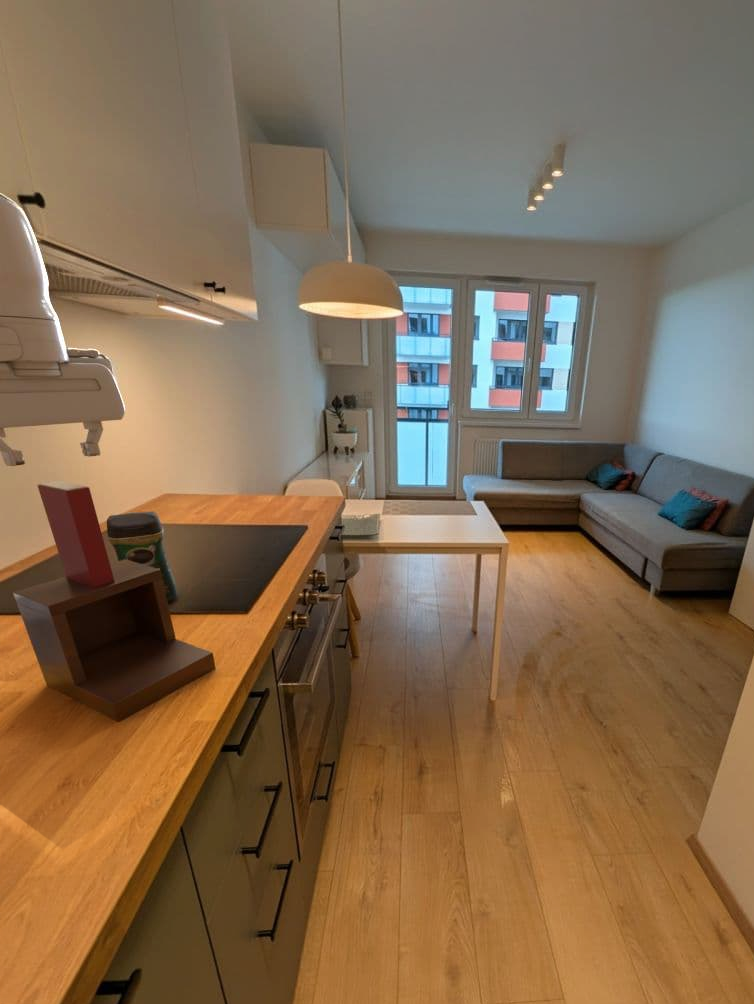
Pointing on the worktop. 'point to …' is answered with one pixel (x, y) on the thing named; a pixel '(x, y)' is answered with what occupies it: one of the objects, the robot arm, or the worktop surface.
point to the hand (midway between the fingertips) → (56, 460)
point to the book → (76, 532)
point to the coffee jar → (142, 544)
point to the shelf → (110, 640)
